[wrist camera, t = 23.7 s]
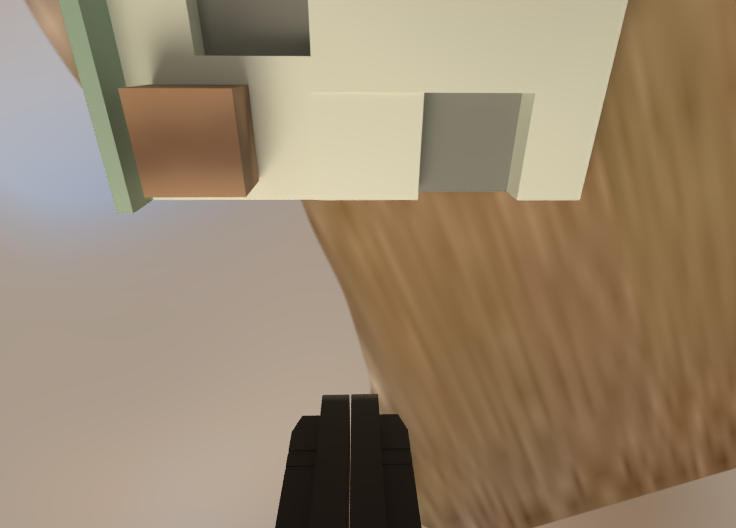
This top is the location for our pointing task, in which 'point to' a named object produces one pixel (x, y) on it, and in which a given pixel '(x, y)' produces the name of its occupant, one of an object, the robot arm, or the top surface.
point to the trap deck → (366, 89)
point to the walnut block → (192, 139)
